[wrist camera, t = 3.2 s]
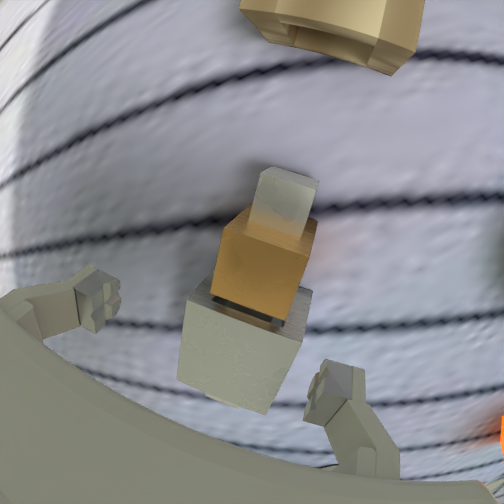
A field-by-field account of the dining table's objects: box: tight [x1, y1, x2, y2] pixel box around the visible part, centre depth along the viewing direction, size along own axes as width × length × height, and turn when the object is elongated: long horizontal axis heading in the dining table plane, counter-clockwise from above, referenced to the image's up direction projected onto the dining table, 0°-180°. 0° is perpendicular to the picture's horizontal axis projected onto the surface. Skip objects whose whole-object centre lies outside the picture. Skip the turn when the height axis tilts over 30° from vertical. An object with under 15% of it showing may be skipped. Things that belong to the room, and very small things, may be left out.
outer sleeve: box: [177, 268, 313, 415], centre depth 22 cm, size 7×8×6 cm
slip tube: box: [205, 166, 319, 408], centre depth 20 cm, size 4×19×6 cm, turn 166°
